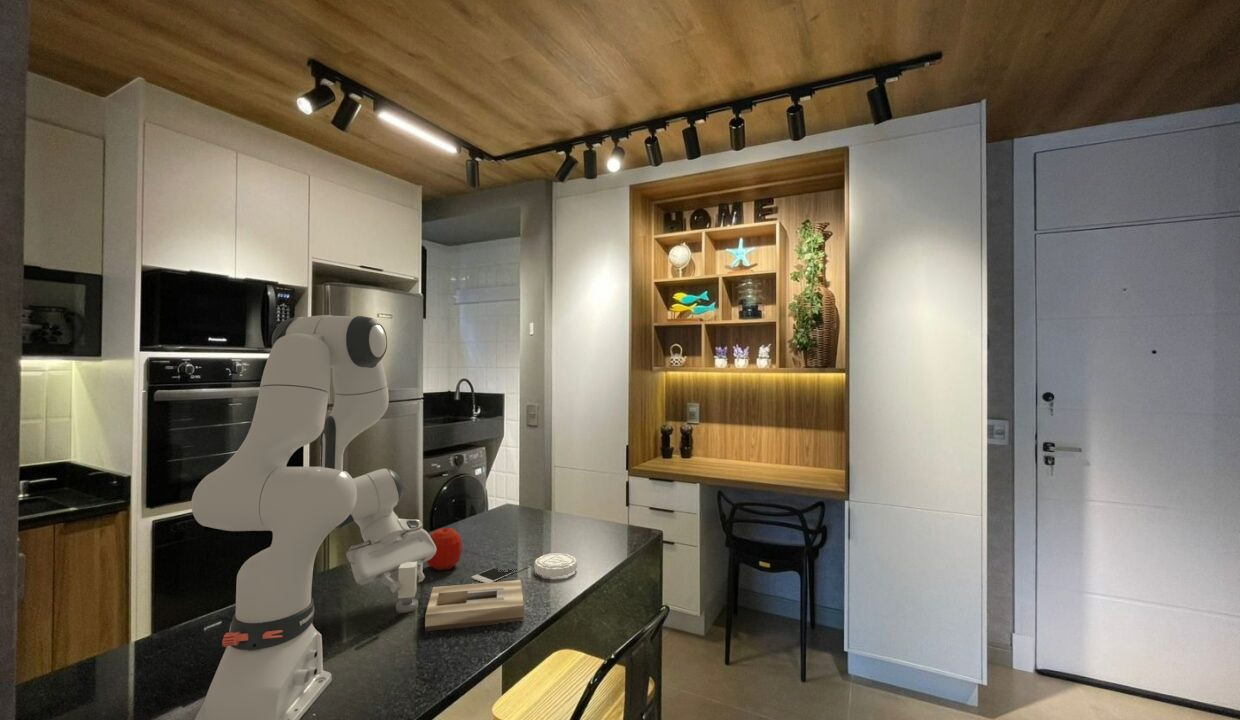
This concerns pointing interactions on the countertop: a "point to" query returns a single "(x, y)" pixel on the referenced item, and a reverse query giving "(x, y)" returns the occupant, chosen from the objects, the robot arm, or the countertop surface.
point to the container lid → (555, 564)
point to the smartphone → (491, 575)
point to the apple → (446, 548)
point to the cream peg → (407, 587)
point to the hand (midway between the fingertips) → (409, 585)
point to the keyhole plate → (474, 605)
